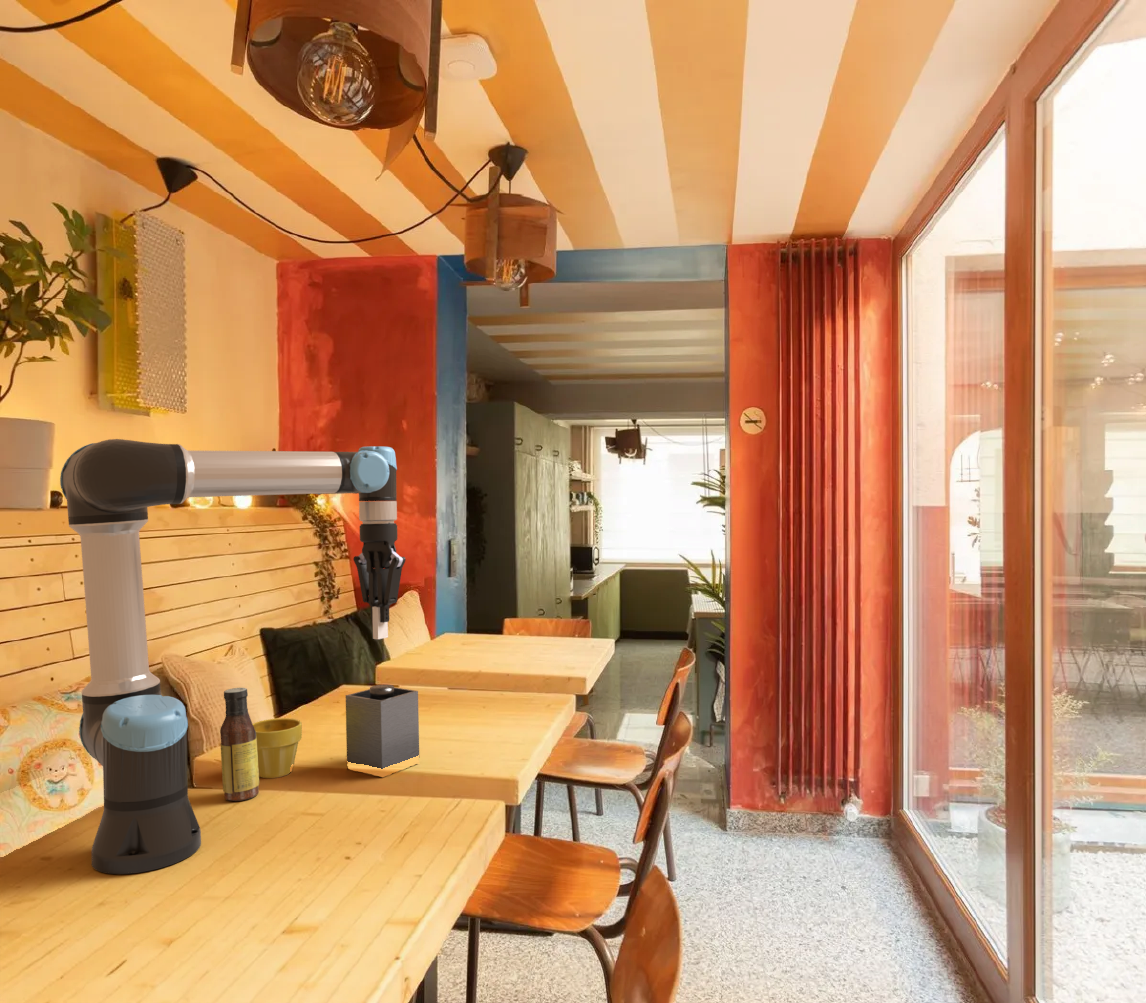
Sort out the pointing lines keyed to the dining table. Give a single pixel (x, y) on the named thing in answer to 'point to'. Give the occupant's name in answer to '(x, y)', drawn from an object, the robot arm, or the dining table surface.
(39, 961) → the dining table surface
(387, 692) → the plunger
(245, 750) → the sauce bottle
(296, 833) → the dining table surface
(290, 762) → the plant pot
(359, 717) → the dark grey rectangular bin
